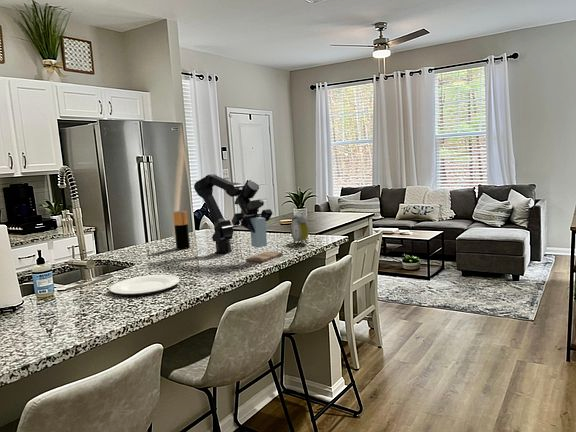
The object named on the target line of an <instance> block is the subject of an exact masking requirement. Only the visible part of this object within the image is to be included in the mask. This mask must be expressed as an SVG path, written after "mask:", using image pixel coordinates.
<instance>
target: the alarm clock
mask: <svg viewBox="0 0 576 432" xmlns="http://www.w3.org/2000/svg"><path fill="white" fill-rule="evenodd" d="M309 231H310V230H309V225H308V222H307V218H306V216H305V215H303V214H301V215H300V214H298V213H297V214H296V213H295V214H293V215H292V216H291V223H290V233H291V237H292V239H293V243H295V242H300V244H301V246H303V245H304V242H305V243H308V241H307V239H308V238H309Z"/></svg>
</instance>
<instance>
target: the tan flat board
mask: <svg viewBox="0 0 576 432" xmlns="http://www.w3.org/2000/svg"><path fill="white" fill-rule="evenodd" d="M282 256H283V252H279V251H277V252H276V251H263V252H261V253H259V254H256V255H252V256H250V257H247V258H246V259H245V261H246V262H249V263H259V264H264V263H267V262H269V261H272V260H274V259H277V258H279V257H282Z"/></svg>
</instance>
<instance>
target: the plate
mask: <svg viewBox="0 0 576 432" xmlns="http://www.w3.org/2000/svg"><path fill="white" fill-rule="evenodd" d="M180 281H181V279H180V278H179V277H178V276H176V275H170V274H152V275H151V274H150V275H149V274H148V275H142V276H136V277H132V278H131V277H130V278H127V279H123V280H121V281H117V282H115V283H113V284H112V285H111V286H110V287H109V288H108V289H109V292H110V293H113V294H115V295H123V296H124V295H125V296H140V295H141V296H143V295H149V294H156V293H158V292H162V291H165V290H167V289H170V288H173V287H174V286H176V285H177V284H179V283H180Z"/></svg>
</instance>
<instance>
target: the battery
mask: <svg viewBox="0 0 576 432" xmlns="http://www.w3.org/2000/svg"><path fill="white" fill-rule="evenodd" d="M172 214H173V215H172V216H173V226H174V236H175V248H176V249H177V250H182V249H183V250H184V249H189V248H191V245H190V244H191V243H190V233H189V232H190V231H189V219H188V211H187V210H177V211H173V212H172Z"/></svg>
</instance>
